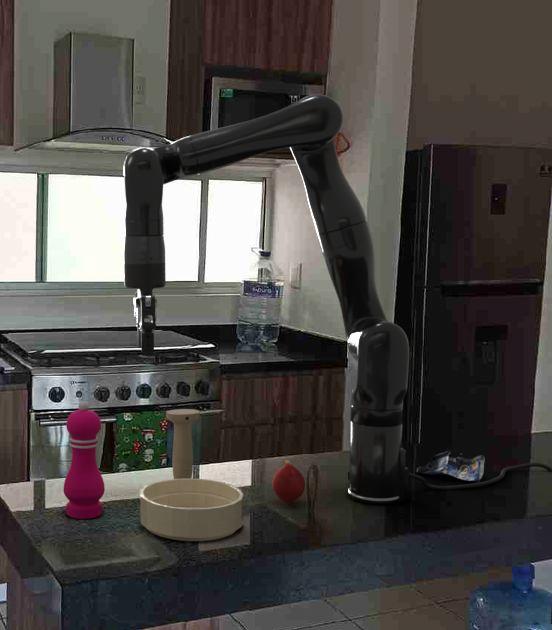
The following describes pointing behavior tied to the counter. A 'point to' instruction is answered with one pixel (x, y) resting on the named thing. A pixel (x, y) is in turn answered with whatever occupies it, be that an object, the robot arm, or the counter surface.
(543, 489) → the counter surface
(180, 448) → the handle
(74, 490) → the pepper mill
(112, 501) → the counter surface
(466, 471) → the snack package
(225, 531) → the bowl
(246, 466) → the counter surface
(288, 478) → the onion
